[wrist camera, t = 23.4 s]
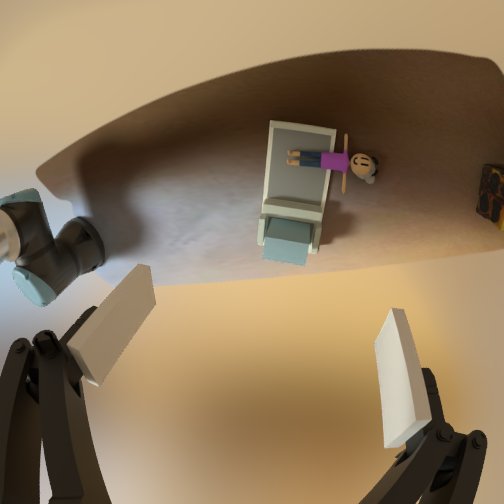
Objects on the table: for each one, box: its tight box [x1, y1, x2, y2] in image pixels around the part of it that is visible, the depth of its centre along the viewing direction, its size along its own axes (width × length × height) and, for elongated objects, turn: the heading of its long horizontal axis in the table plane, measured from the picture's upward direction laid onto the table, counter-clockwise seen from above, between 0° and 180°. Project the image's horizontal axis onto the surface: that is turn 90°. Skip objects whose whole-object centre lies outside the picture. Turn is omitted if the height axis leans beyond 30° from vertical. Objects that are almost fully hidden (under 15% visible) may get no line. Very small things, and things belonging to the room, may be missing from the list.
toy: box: [287, 134, 378, 194], centre depth 43 cm, size 10×6×15 cm
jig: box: [257, 120, 336, 254], centre depth 46 cm, size 11×24×4 cm, turn 176°
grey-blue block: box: [263, 218, 310, 266], centre depth 48 cm, size 7×4×8 cm, turn 85°
